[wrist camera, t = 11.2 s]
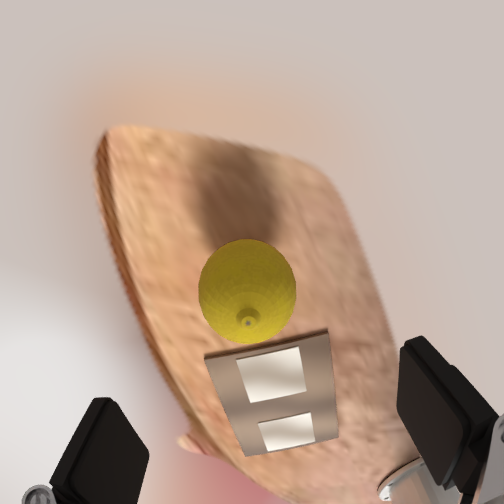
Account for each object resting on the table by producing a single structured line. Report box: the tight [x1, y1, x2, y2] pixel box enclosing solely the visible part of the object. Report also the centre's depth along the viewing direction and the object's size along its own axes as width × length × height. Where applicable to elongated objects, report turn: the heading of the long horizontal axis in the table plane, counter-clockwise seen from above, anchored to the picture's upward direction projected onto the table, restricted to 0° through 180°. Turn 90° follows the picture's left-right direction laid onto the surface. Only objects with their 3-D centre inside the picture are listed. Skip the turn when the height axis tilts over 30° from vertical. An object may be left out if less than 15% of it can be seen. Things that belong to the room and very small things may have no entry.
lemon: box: [199, 239, 296, 344], centre depth 18 cm, size 6×6×8 cm
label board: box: [204, 331, 339, 457], centre depth 25 cm, size 14×10×1 cm
